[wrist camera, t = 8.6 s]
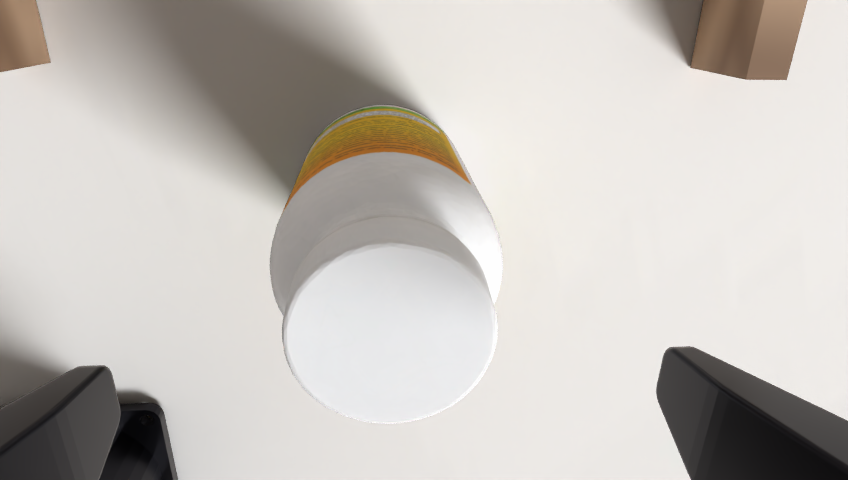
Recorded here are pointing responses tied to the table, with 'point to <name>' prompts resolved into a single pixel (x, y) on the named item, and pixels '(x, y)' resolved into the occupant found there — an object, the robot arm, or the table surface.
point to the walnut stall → (714, 52)
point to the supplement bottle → (386, 269)
